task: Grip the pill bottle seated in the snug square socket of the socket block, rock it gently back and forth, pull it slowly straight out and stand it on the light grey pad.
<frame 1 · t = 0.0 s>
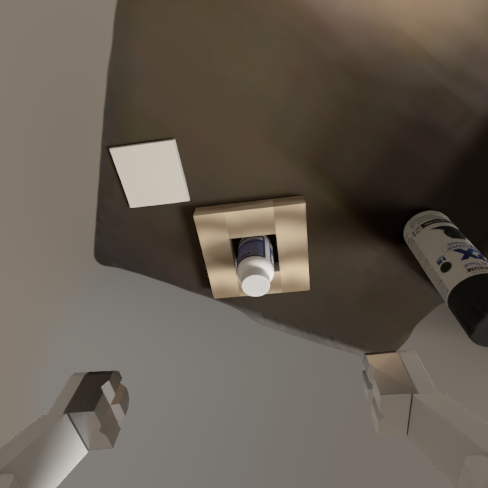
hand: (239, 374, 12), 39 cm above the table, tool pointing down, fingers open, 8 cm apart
socket block: (255, 246, 55), on the table
pill bottle: (255, 245, 56), resting in socket block
pad: (152, 174, 49), on the table
spray can: (424, 228, 53), on the table
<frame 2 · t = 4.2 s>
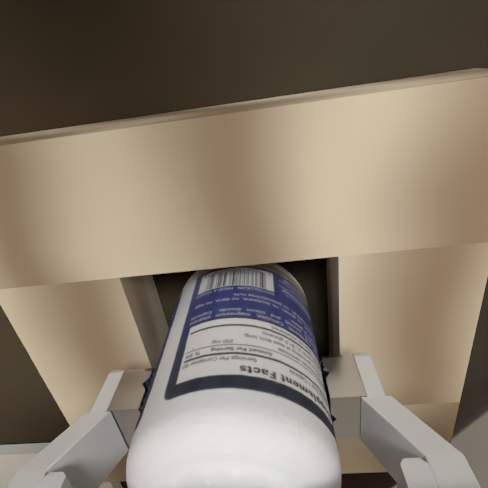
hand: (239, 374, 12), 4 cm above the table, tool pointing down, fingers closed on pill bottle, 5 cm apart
socket block: (243, 306, 15), on the table
pill bottle: (244, 303, 15), resting in socket block, touching gripper
pad: (54, 487, 22), on the table
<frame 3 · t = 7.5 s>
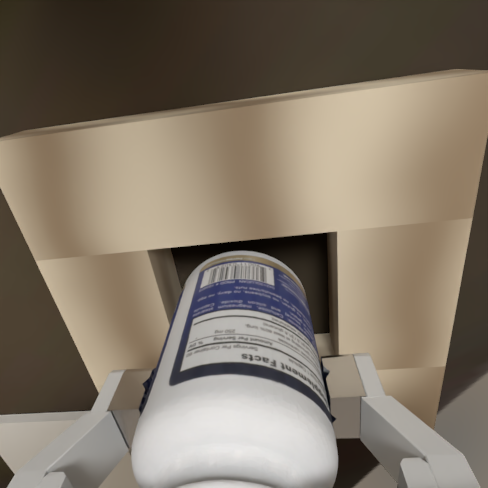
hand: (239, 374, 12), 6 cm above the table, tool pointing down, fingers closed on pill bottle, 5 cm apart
socket block: (252, 281, 16), on the table
pill bottle: (244, 298, 15), point 1 cm above the table, touching gripper
pad: (74, 455, 24), on the table
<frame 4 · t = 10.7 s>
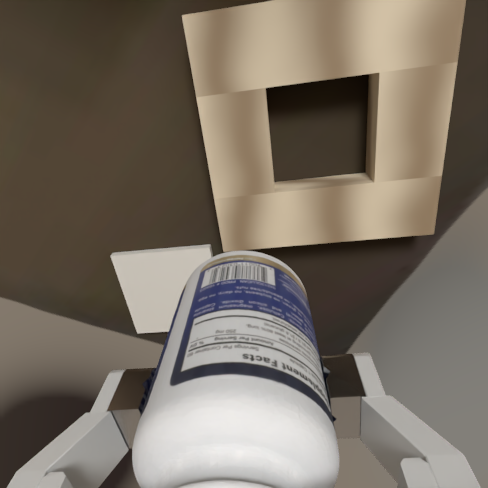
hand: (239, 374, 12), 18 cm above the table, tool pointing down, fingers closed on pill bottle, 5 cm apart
socket block: (317, 131, 25), on the table
pill bottle: (245, 298, 15), point 14 cm above the table, touching gripper
pad: (172, 290, 33), on the table
when the fingers open (6 cm above the table, at t = 14.2 s): pill bottle stays where it is, resting on pad.
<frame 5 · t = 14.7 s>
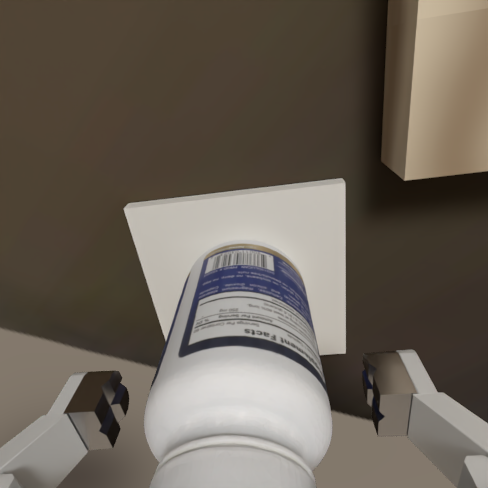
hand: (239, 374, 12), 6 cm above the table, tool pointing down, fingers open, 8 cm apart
pill bottle: (245, 285, 16), resting on pad
pad: (246, 280, 16), on the table
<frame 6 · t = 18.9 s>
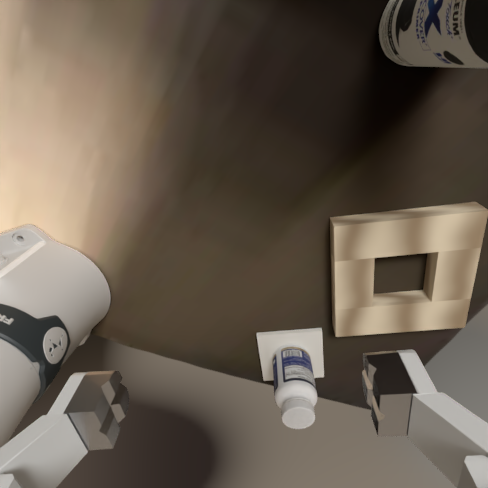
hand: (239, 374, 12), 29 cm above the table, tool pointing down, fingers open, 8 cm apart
socket block: (396, 269, 43), on the table
pill bottle: (291, 356, 50), resting on pad
pad: (291, 353, 50), on the table
spray can: (415, 24, 31), on the table
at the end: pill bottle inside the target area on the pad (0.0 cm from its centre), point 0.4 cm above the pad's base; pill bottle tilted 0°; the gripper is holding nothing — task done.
